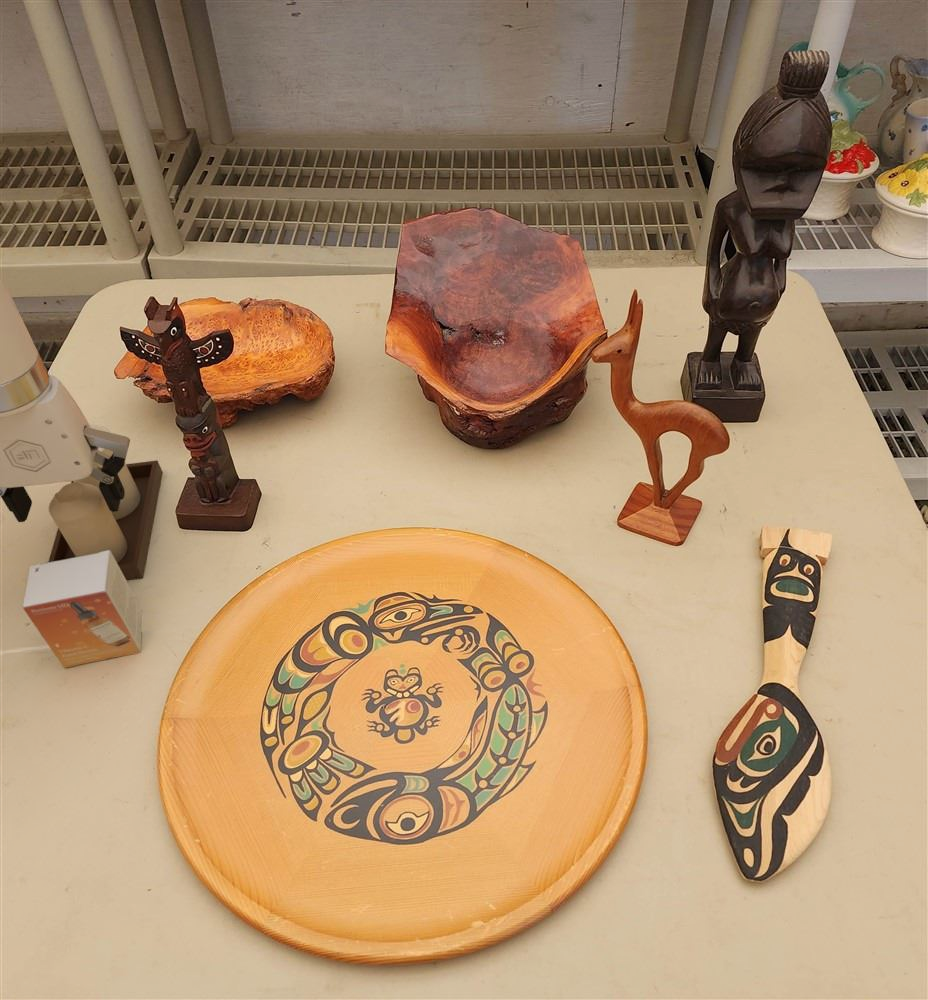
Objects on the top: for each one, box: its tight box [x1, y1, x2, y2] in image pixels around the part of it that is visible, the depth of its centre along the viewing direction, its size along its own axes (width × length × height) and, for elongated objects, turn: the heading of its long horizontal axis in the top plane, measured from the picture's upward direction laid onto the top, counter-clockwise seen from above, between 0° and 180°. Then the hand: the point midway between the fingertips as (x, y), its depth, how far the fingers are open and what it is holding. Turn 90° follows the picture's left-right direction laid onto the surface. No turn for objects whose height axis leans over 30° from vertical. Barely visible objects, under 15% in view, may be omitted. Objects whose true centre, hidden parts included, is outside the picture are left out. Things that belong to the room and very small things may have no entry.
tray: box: [47, 459, 164, 582], centre depth 101 cm, size 10×17×3 cm, turn 7°
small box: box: [22, 550, 143, 669], centre depth 87 cm, size 8×6×10 cm
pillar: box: [73, 424, 140, 520], centre depth 101 cm, size 6×6×10 cm
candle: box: [48, 482, 127, 563], centre depth 95 cm, size 6×6×10 cm
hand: (71, 507), depth 93 cm, fingers open, 9 cm apart
